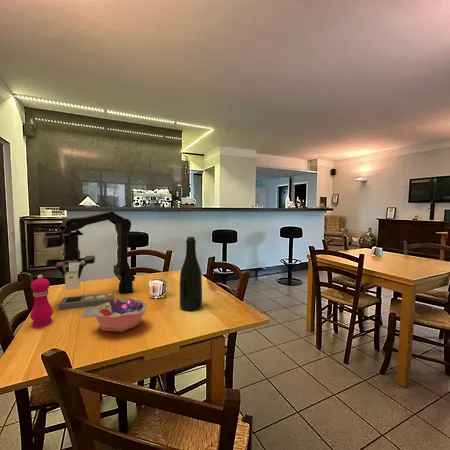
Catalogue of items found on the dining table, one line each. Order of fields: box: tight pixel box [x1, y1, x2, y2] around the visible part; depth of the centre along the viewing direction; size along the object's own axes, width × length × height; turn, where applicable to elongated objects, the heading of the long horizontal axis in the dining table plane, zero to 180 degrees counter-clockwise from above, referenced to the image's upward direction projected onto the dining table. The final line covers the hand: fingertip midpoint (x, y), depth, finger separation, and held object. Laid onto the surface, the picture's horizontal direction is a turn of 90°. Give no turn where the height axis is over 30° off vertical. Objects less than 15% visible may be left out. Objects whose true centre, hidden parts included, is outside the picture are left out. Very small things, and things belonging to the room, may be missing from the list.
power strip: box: [58, 292, 115, 311], centre depth 123 cm, size 22×9×4 cm, turn 110°
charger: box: [64, 270, 81, 291], centre depth 120 cm, size 5×5×7 cm
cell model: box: [92, 298, 148, 333], centre depth 100 cm, size 17×20×11 cm
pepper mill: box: [29, 274, 54, 329], centre depth 102 cm, size 7×7×20 cm
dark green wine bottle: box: [179, 236, 203, 312], centre depth 120 cm, size 10×10×33 cm
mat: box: [81, 306, 97, 319], centre depth 115 cm, size 11×11×1 cm
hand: (72, 279), depth 120 cm, fingers closed on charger, 5 cm apart
